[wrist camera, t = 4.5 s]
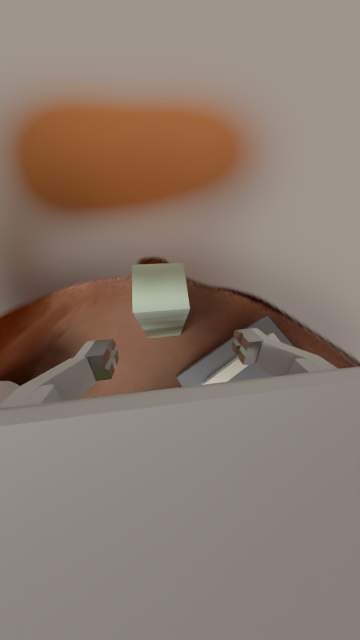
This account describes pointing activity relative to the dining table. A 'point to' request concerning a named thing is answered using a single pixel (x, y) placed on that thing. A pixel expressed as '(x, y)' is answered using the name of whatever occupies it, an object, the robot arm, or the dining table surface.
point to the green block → (160, 298)
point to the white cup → (7, 389)
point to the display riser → (229, 361)
